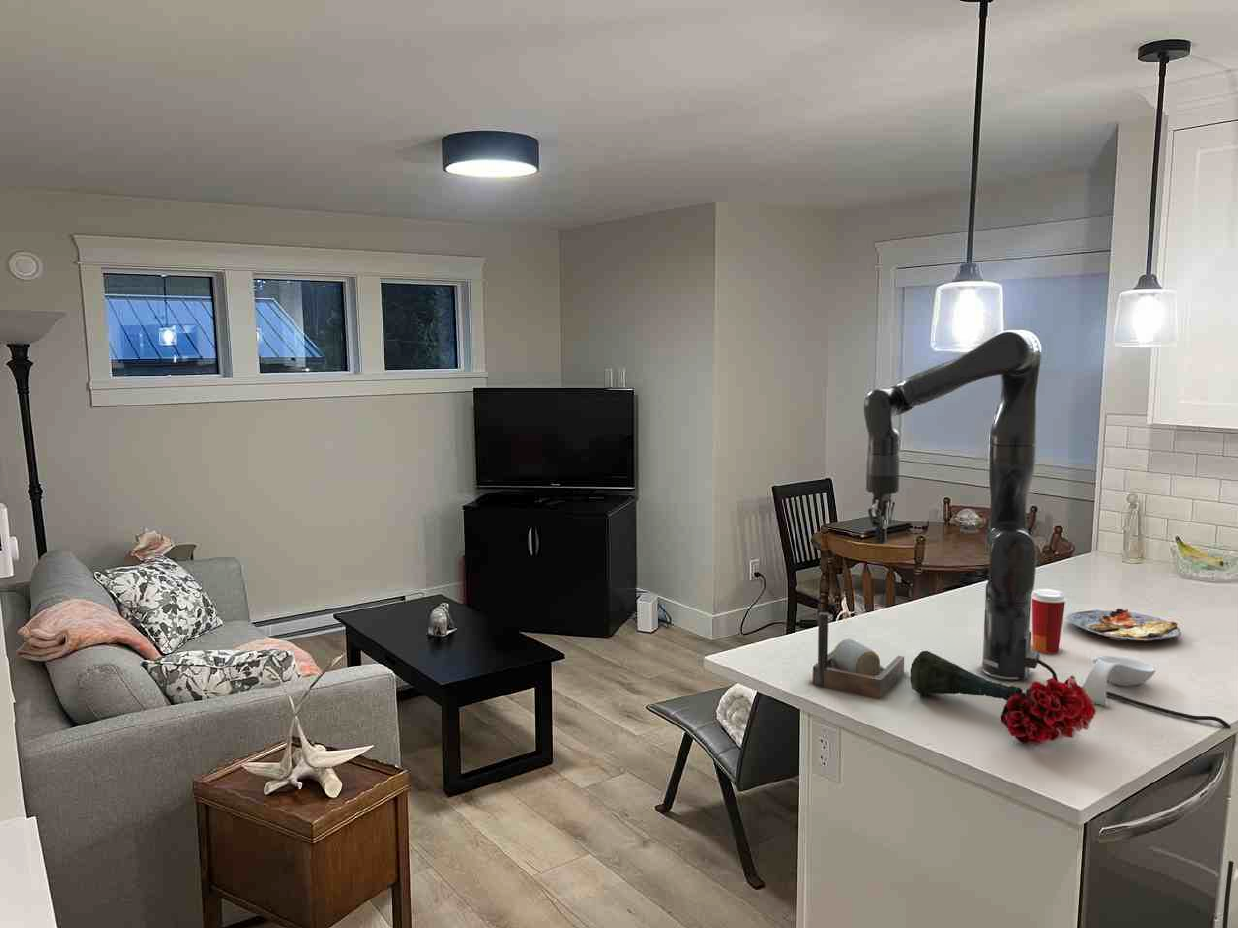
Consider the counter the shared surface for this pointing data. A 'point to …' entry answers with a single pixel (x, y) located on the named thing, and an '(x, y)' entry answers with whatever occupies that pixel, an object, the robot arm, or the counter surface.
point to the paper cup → (1047, 620)
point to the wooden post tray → (848, 680)
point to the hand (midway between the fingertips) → (880, 543)
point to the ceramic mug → (856, 658)
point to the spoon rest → (1115, 675)
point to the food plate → (1124, 625)
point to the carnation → (1012, 699)
